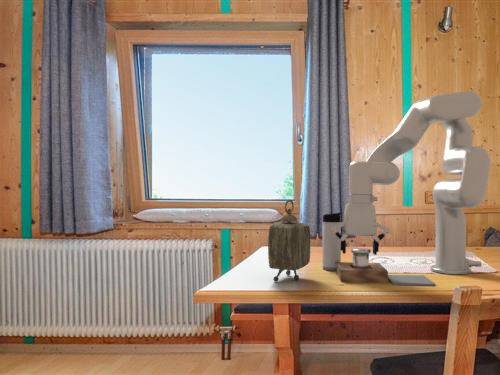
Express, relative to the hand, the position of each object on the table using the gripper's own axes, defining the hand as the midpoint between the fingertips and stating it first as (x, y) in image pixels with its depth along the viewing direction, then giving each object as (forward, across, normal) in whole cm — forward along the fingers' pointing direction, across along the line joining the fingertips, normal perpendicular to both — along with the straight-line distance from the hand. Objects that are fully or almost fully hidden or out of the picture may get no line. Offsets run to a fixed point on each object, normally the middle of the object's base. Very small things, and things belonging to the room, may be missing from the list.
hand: (359, 253), depth 140 cm
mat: (+7, -15, +4) cm, 17 cm away
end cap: (+8, -1, 0) cm, 8 cm away
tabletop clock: (+8, +22, +5) cm, 24 cm away
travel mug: (+8, +7, -13) cm, 17 cm away
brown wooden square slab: (+8, -1, 0) cm, 8 cm away
